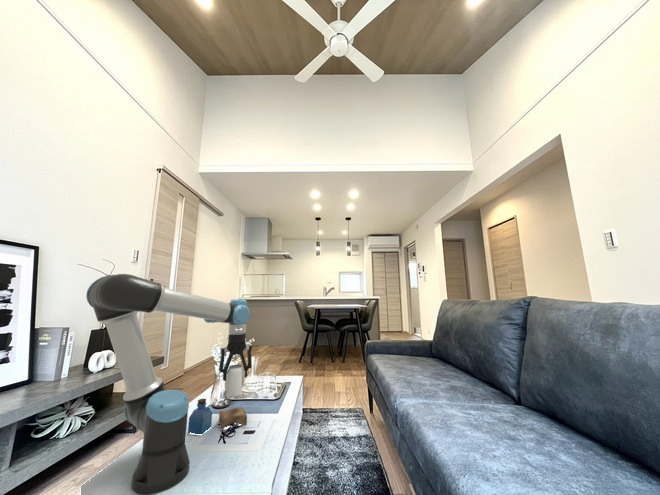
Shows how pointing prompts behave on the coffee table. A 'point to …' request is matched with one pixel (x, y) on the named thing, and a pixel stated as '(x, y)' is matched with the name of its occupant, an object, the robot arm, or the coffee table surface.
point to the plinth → (232, 417)
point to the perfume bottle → (200, 418)
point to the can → (234, 380)
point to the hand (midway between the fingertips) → (234, 386)
